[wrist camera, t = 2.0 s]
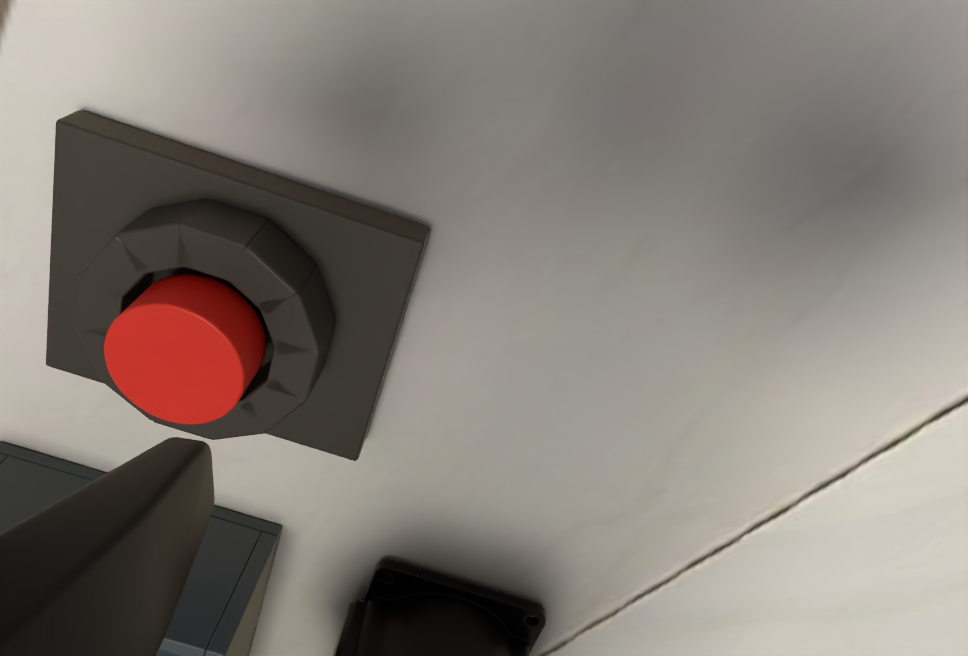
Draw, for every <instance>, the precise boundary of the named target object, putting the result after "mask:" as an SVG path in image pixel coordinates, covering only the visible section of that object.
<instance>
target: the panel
mask: <svg viewBox="0 0 968 656" xmlns="http://www.w3.org/2000/svg"><path fill="white" fill-rule="evenodd" d="M429 233H430V228H429V227H427V226H424V225H421V224H418V223H415V222H412V221H409V220H406V219H403V218H400V217H397V216H394V215H391V214H388V213H385V212H382V211H379V210H376V209H374V208H371V207H368V206H365V205H362V204H359V203H356V202H353V201H350V200H347V199H344V198H341V197H338V196H335V195H332V194H329V193H326V192H323V191H320V190H317V189H314V188H311V187H308V186H305V185H302V184H299V183H296V182H293V181H290V180H287V179H284V178H281V177H278V176H275V175H272V174H269V173H266V172H263V171H260V170H257V169H255V168H252V167H249V166H246V165H243V164H240V163H237V162H234V161H231V160H228V159H225V158H222V157H219V156H216V155H213V154H210V153H207V152H204V151H201V150H198V149H195V148H192V147H189V146H186V145H183V144H180V143H177V142H174V141H171V140H168V139H165V138H162V137H159V136H156V135H153V134H150V133H147V132H144V131H141V130H139V129H136V128H133V127H130V126H127V125H124V124H121V123H118V122H115V121H112V120H109V119H106V118H103V117H100V116H97V115H94V114H91V113H88V112H85V111H82V110H79V111H77V112H74V113H72V114H70V115H68V116H65V117H63V118H61V119H59V120H57V122H56V138H55V162H54V186H53V209H52V233H51V257H50V280H49V304H48V328H47V351H46V365H47V366H50V367H53V368H56V369H60V370H63V371H66V372H69V373H73V374H76V375H79V376H82V377H85V378H89V379H92V380H95V381H98V382H102V383H105V384H106V385H107V386H109V387H110V388H111V389H112V390H114V391H115V392H116V393H117V394H119V395H120V396H121V397H122V398H124V399H125V400H126V401H127V402H129V403H130V404H131V405H132V406H134V407H135V408H136V409H137V410H139V411H140V412H141V413H142V414H144V415H145V416H146V417H147V418H149V419H150V420H153V421H154V422H155V423H159V424H162V425H165V426H169V427H172V428H175V429H178V430H182V431H185V432H188V433H191V434H195V435H198V436H201V437H204V438H208V439H212V440H215V439H223V438H231V437H239V436H247V435H255V434H263V433H266V434H270V435H273V436H276V437H279V438H283V439H286V440H289V441H292V442H295V443H299V444H302V445H305V446H308V447H312V448H315V449H318V450H321V451H325V452H328V453H331V454H334V455H337V456H341V457H344V458H347V459H350V460H354V461H356V460H357V459H358V458H359V455H360V452H361V449H362V447H363V444H364V441H365V438H366V435H367V432H368V428H369V425H370V422H371V419H372V416H373V412H374V409H375V406H376V403H377V400H378V396H379V393H380V390H381V387H382V384H383V380H384V377H385V374H386V371H387V368H388V364H389V361H390V358H391V355H392V351H393V348H394V345H395V342H396V339H397V335H398V332H399V329H400V326H401V323H402V319H403V316H404V313H405V310H406V307H407V303H408V300H409V297H410V294H411V291H412V287H413V284H414V281H415V278H416V274H417V271H418V268H419V265H420V262H421V258H422V255H423V252H424V249H425V246H426V242H427V239H428V236H429ZM181 274H193V275H200V276H204V277H208V278H211V279H214V280H217V281H219V282H221V283H223V284H225V285H227V286H228V287H230V288H232V289H233V290H235V291H236V292H237V293H238V294H240V295H241V296H242V297H243V298H244V299H245V300H246V301H247V302H248V303H249V304H250V306H251V307H252V308H253V309H254V311H255V312H256V314H257V316H258V317H259V320H260V322H261V324H262V327H263V330H264V334H265V339H266V350H265V356H264V360H263V363H262V365H261V367H260V368H259V370H258V372H257V373H256V375H255V376H254V378H253V379H252V381H251V383H250V384H249V386H248V387H247V389H246V390H245V392H244V393H243V395H242V397H241V398H240V400H239V401H238V403H237V404H236V405H235V407H234V408H233V409H232V410H231V411H230V412H229V413H227V414H226V415H224V416H223V417H221V418H219V419H217V420H214V421H211V422H208V423H203V424H193V425H190V424H179V423H173V422H169V421H166V420H163V419H160V418H157V417H155V416H153V415H151V414H149V413H147V412H146V411H144V410H142V409H141V408H139V407H138V406H136V405H135V404H134V403H133V402H131V401H130V400H129V399H128V398H127V397H126V396H125V395H124V394H123V393H122V392H121V391H120V389H119V388H118V387H117V385H116V384H115V382H114V380H113V379H112V377H111V375H110V373H109V371H108V368H107V365H106V361H105V355H104V344H105V338H106V334H107V332H108V329H109V327H110V326H111V324H112V323H113V321H114V320H115V319H116V318H117V317H118V316H119V315H120V314H121V313H122V312H123V311H124V310H125V309H126V308H127V307H128V306H129V305H130V304H131V303H133V302H134V301H135V300H136V299H137V298H138V297H139V296H140V295H141V294H142V293H143V292H144V291H145V290H146V289H147V288H148V287H150V286H151V285H152V284H153V283H155V282H157V281H158V280H160V279H163V278H165V277H169V276H173V275H181Z"/></svg>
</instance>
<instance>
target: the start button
mask: <svg viewBox="0 0 968 656" xmlns="http://www.w3.org/2000/svg"><path fill="white" fill-rule="evenodd" d="M265 350H266V339H265V334H264V330H263V327H262V324H261V322H260V320H259V317H258V316H257V314H256V312H255V311H254V309H253V308H252V307H251V306H250V304H249V303H248V302H247V301H246V300H245V299H244V298H243V297H242V296H241V295H240V294H238V293H237V292H236V291H235V290H233V289H232V288H230V287H228V286H227V285H225V284H223V283H221V282H219V281H217V280H214V279H211V278H208V277H204V276H200V275H193V274H181V275H173V276H169V277H165V278H163V279H160V280H158V281H157V282H155V283H153V284H152V285H151V286H150V287H148V288H147V289H146V290H145V291H144V292H143V293H142V294H141V295H140V296H139V297H138V298H137V299H136V300H135V301H134V302H133V303H131V304H130V305H129V306H128V307H127V308H126V309H125V310H124V311H123V312H122V313H121V314H120V315H119V316H118V317H117V318H116V319H115V320H114V321H113V323H112V324H111V326H110V327H109V329H108V332H107V334H106V338H105V344H104V355H105V361H106V365H107V368H108V371H109V373H110V375H111V377H112V379H113V380H114V382H115V384H116V385H117V387H118V388H119V389H120V391H121V392H122V393H123V394H124V395H125V396H126V397H127V398H128V399H129V400H130V401H131V402H133V403H134V404H135V405H136V406H138V407H139V408H141V409H142V410H144V411H146V412H147V413H149V414H151V415H153V416H155V417H157V418H160V419H163V420H166V421H169V422H173V423H179V424H190V425H193V424H203V423H208V422H211V421H214V420H217V419H219V418H221V417H223V416H224V415H226V414H227V413H229V412H230V411H231V410H232V409H233V408H234V407H235V405H236V404H237V403H238V401H239V400H240V398H241V397H242V395H243V393H244V392H245V390H246V389H247V387H248V386H249V384H250V383H251V381H252V379H253V378H254V376H255V375H256V373H257V372H258V370H259V368H260V367H261V365H262V363H263V360H264V356H265Z"/></svg>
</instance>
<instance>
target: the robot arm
mask: <svg viewBox="0 0 968 656" xmlns="http://www.w3.org/2000/svg"><path fill="white" fill-rule="evenodd" d="M213 506H214V484H213V470H212V456H211V450H210V447H209V445H208V444H207V443H205V442H203V441H198V440H191V439H185V438H178V437H173V438H169V439H167V440H165V441H163V442H161V443H160V444H158V445H156V446H154V447H152V448H151V449H149V450H147V451H145V452H144V453H142V454H140V455H138V456H137V457H135V458H133V459H131V460H130V461H128V462H126V463H124V464H123V465H121V466H119V467H117V468H116V469H114V470H112V471H110V472H109V473H107V474H105V475H103V476H102V477H100V478H98V479H96V480H95V481H93V482H91V483H89V484H88V485H86V486H84V487H82V488H81V489H79V490H77V491H75V492H74V493H72V494H70V495H68V496H67V497H65V498H63V499H61V500H60V501H58V502H56V503H54V504H52V505H51V506H49V507H47V508H45V509H44V510H42V511H40V512H38V513H37V514H35V515H33V516H31V517H30V518H28V519H26V520H24V521H23V522H21V523H19V524H17V525H16V526H14V527H12V528H10V529H9V530H7V531H5V532H3V533H2V534H0V656H156V654H157V652H158V650H159V648H160V646H161V643H162V641H163V639H164V637H165V634H166V632H167V629H168V627H169V625H170V622H171V620H172V617H173V614H174V612H175V609H176V607H177V604H178V601H179V599H180V596H181V594H182V591H183V588H184V586H185V583H186V581H187V578H188V576H189V573H190V570H191V568H192V565H193V563H194V560H195V557H196V555H197V552H198V550H199V547H200V544H201V542H202V539H203V537H204V534H205V531H206V529H207V526H208V524H209V521H210V518H211V515H212V511H213ZM386 573H390V574H392V575H390V574H386ZM530 616H534V617H530ZM545 621H546V612H545V609H544V608H543V607H542V606H541V605H539V604H537V603H534V602H530V601H527V600H524V599H520V598H517V597H514V596H510V595H507V594H504V593H500V592H497V591H494V590H490V589H487V588H484V587H480V586H477V585H474V584H470V583H467V582H464V581H460V580H457V579H454V578H450V577H447V576H444V575H440V574H437V573H434V572H430V571H427V570H424V569H421V568H417V567H414V566H411V565H407V564H404V563H401V562H397V561H394V560H388V559H387V560H382V561H380V562H379V563H378V564H377V565H376V568H375V571H374V574H373V576H372V579H371V582H370V585H369V588H368V590H367V593H366V596H365V599H364V602H363V601H360V600H356V601H354V602H352V603H350V605H349V608H348V611H347V614H346V617H345V620H344V623H343V625H342V628H341V631H340V634H339V637H338V640H337V643H336V646H335V649H334V653H333V656H529V653H530V651H531V649H532V647H533V645H534V644H535V642H536V640H537V638H538V636H539V634H540V633H541V631H542V629H543V627H544V625H545Z"/></svg>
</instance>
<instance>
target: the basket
mask: <svg viewBox="0 0 968 656" xmlns="http://www.w3.org/2000/svg"><path fill="white" fill-rule="evenodd" d="M105 474H107V473H103V472H100V471H97V470H93V469H90V468H87V467H83V466H80V465H77V464H73V463H70V462H67V461H63V460H60V459H57V458H53V457H50V456H47V455H43V454H40V453H37V452H33V451H30V450H27V449H23V448H20V447H17V446H13V445H10V444H7V443H3V442H0V534H2V533H3V532H5V531H7V530H9V529H10V528H12V527H14V526H16V525H17V524H19V523H21V522H23V521H24V520H26V519H28V518H30V517H31V516H33V515H35V514H37V513H38V512H40V511H42V510H44V509H45V508H47V507H49V506H51V505H52V504H54V503H56V502H58V501H60V500H61V499H63V498H65V497H67V496H68V495H70V494H72V493H74V492H75V491H77V490H79V489H81V488H82V487H84V486H86V485H88V484H89V483H91V482H93V481H95V480H96V479H98V478H100V477H102V476H103V475H105ZM281 529H282V526H280V525H276V524H273V523H270V522H266V521H263V520H260V519H256V518H253V517H250V516H246V515H243V514H240V513H236V512H233V511H230V510H226V509H223V508H220V507H216V506H213V511H212V515H211V518H210V521H209V524H208V526H207V529H206V531H205V534H204V537H203V539H202V542H201V544H200V547H199V550H198V552H197V555H196V557H195V560H194V563H193V565H192V568H191V570H190V573H189V576H188V578H187V581H186V583H185V586H184V588H183V591H182V594H181V596H180V599H179V601H178V604H177V607H176V609H175V612H174V614H173V617H172V620H171V622H170V625H169V627H168V629H167V632H166V634H165V637H164V639H163V641H162V643H161V646H160V648H159V650H158V652H157V654H156V656H249V652H250V648H251V644H252V640H253V636H254V633H255V629H256V625H257V621H258V617H259V614H260V610H261V606H262V602H263V598H264V594H265V591H266V587H267V583H268V579H269V575H270V571H271V568H272V564H273V560H274V556H275V552H276V549H277V545H278V541H279V537H280V533H281Z"/></svg>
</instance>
